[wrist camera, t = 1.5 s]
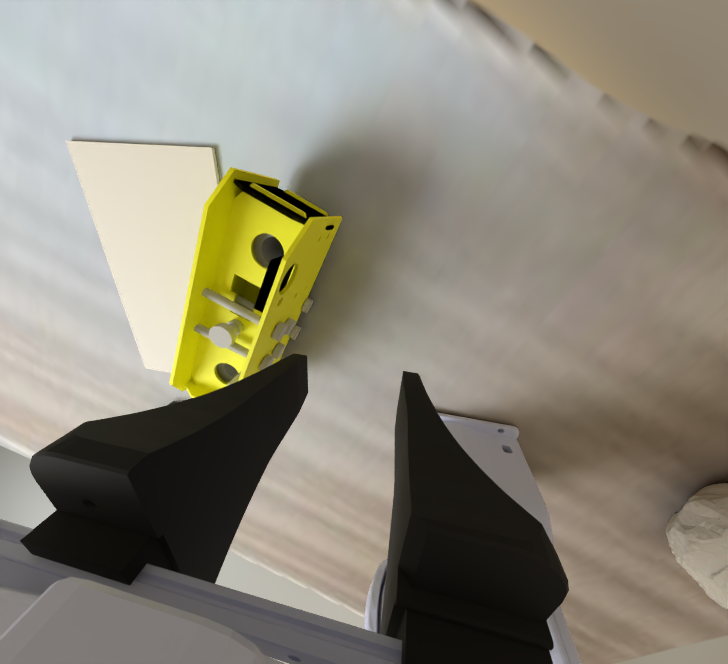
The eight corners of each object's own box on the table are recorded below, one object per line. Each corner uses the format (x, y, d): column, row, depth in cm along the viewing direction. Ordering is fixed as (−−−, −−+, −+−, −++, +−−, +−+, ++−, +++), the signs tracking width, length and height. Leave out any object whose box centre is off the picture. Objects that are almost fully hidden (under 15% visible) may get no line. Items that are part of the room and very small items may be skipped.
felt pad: (214, 148, 18) (211, 147, 17) (249, 385, 26) (248, 387, 26) (70, 141, 19) (65, 140, 19) (147, 366, 28) (145, 368, 28)
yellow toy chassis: (278, 379, 25) (223, 450, 17) (224, 351, 25) (144, 412, 17) (351, 220, 18) (312, 226, 11) (278, 178, 18) (182, 152, 10)
